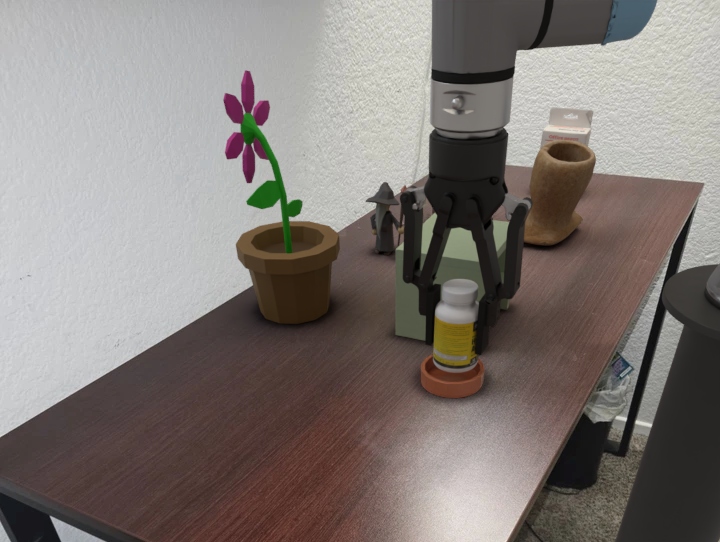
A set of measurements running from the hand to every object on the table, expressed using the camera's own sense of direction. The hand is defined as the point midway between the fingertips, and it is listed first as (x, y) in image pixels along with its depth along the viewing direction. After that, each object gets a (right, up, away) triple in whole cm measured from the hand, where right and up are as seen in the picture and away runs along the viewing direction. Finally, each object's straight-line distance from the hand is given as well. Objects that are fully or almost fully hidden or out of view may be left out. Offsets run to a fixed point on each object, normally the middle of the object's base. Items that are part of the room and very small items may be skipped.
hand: (456, 344), depth 78 cm
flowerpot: (-21, +9, +20) cm, 30 cm away
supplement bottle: (0, -2, +2) cm, 3 cm away
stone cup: (+22, +27, +38) cm, 51 cm away
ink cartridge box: (+28, +42, +54) cm, 74 cm away
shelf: (+2, +7, +15) cm, 17 cm away
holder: (0, -4, +3) cm, 5 cm away
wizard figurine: (-6, +22, +34) cm, 41 cm away
